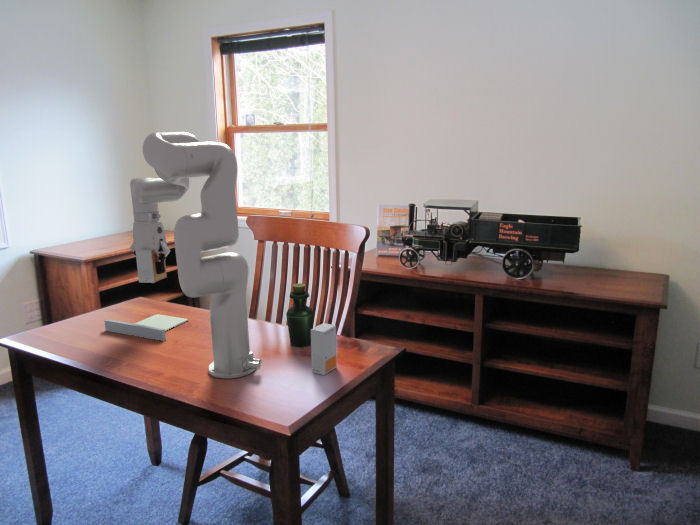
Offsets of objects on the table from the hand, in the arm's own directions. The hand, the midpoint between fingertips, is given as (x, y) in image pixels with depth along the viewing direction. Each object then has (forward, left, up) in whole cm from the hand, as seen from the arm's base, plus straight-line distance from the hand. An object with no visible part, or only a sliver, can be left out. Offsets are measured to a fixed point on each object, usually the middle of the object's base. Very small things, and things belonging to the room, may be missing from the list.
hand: (152, 271), depth 178 cm
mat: (0, 0, -18) cm, 18 cm away
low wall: (0, +10, -18) cm, 21 cm away
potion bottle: (-52, -4, -18) cm, 55 cm away
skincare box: (-67, +10, -18) cm, 70 cm away
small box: (0, 0, -3) cm, 3 cm away
